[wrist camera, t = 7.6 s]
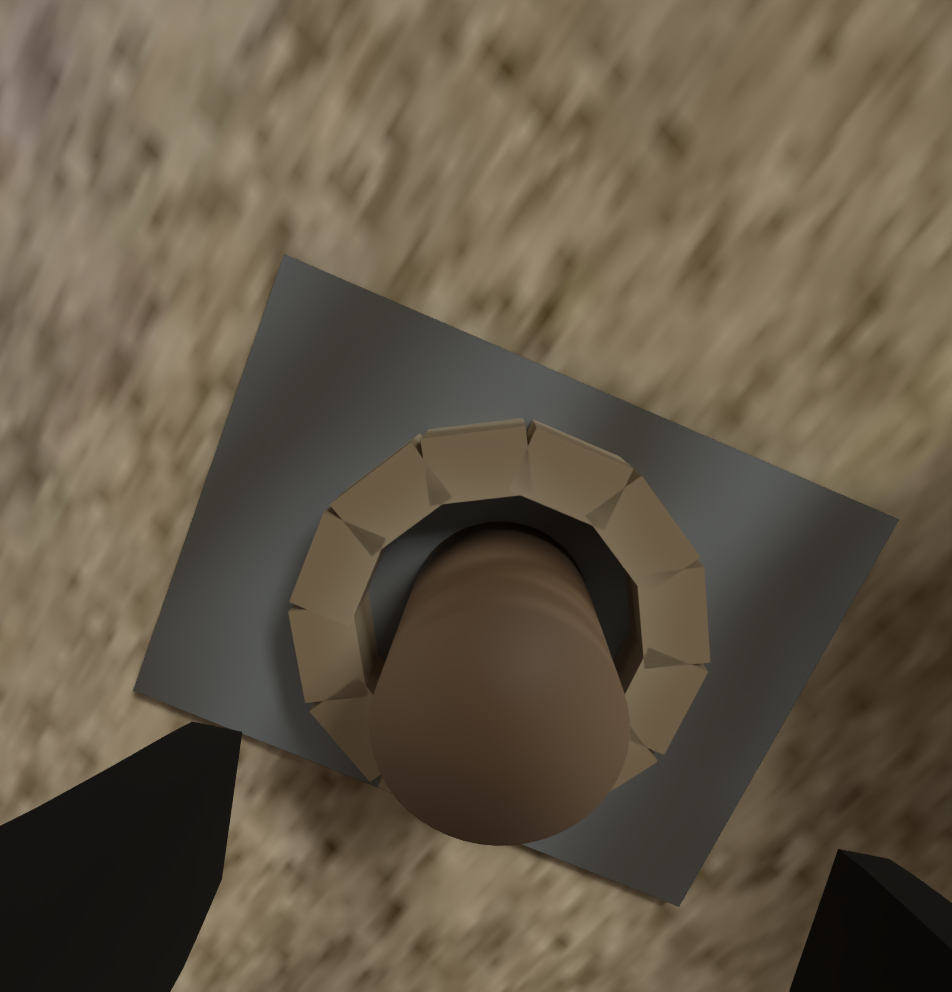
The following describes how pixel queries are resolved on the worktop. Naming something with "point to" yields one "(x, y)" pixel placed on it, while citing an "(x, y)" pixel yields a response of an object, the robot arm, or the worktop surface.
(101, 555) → the worktop surface
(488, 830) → the walnut peg
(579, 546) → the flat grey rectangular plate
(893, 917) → the robot arm
